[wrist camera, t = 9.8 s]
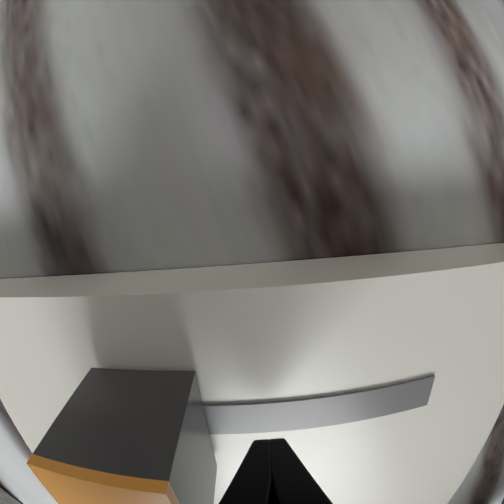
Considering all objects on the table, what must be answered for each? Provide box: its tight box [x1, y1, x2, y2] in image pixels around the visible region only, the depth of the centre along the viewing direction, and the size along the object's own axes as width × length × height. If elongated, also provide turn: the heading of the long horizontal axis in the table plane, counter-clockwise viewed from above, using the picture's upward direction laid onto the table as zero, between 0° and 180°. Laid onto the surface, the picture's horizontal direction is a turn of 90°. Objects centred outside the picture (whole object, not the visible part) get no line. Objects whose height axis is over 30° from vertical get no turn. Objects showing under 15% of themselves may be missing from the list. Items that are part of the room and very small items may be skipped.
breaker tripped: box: [27, 368, 217, 504], centre depth 6 cm, size 3×4×4 cm
